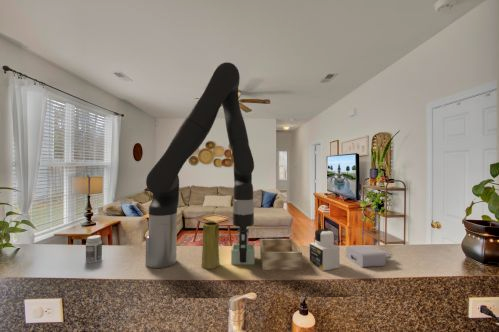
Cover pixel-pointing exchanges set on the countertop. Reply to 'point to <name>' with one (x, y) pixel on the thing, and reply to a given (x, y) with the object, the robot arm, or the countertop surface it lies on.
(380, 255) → the charger
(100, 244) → the pill bottle
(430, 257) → the countertop surface
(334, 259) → the medicine bottle
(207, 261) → the vase
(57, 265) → the countertop surface
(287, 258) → the crate large
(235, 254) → the crate small
